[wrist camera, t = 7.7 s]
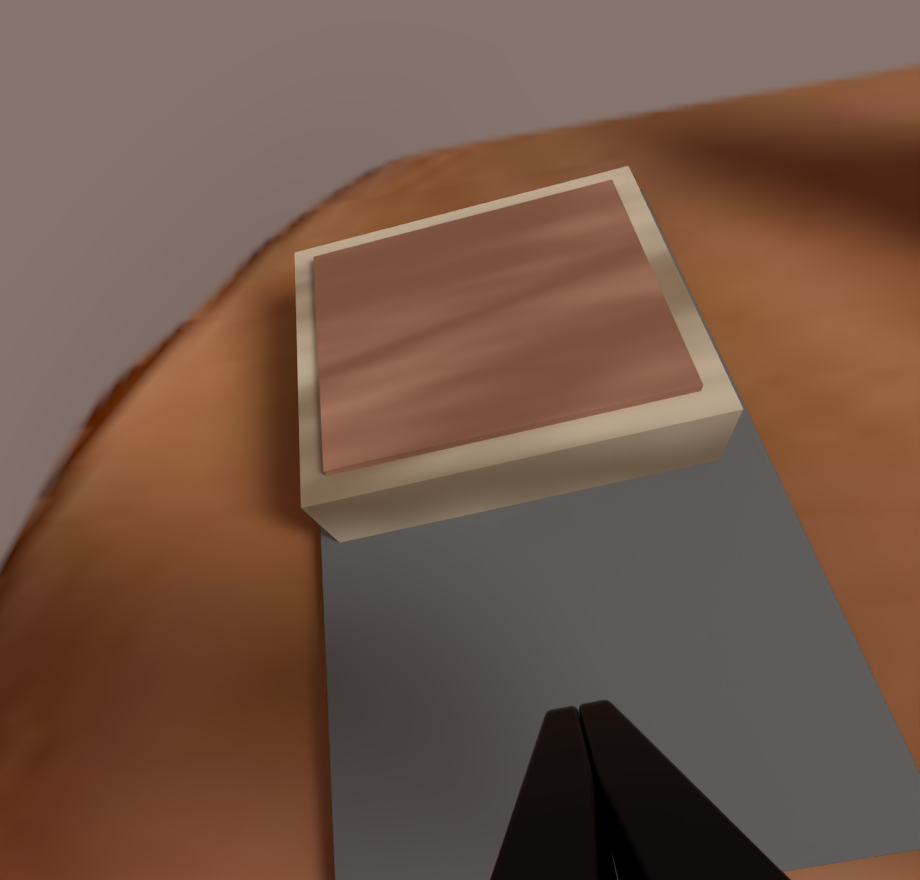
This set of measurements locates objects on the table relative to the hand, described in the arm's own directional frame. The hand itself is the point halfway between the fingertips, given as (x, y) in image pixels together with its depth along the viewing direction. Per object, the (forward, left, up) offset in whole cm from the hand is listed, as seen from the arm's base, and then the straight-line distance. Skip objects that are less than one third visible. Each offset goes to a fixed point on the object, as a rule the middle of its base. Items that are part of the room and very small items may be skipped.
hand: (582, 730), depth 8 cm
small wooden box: (+7, +1, -7) cm, 10 cm away
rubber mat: (+8, 0, -9) cm, 12 cm away
